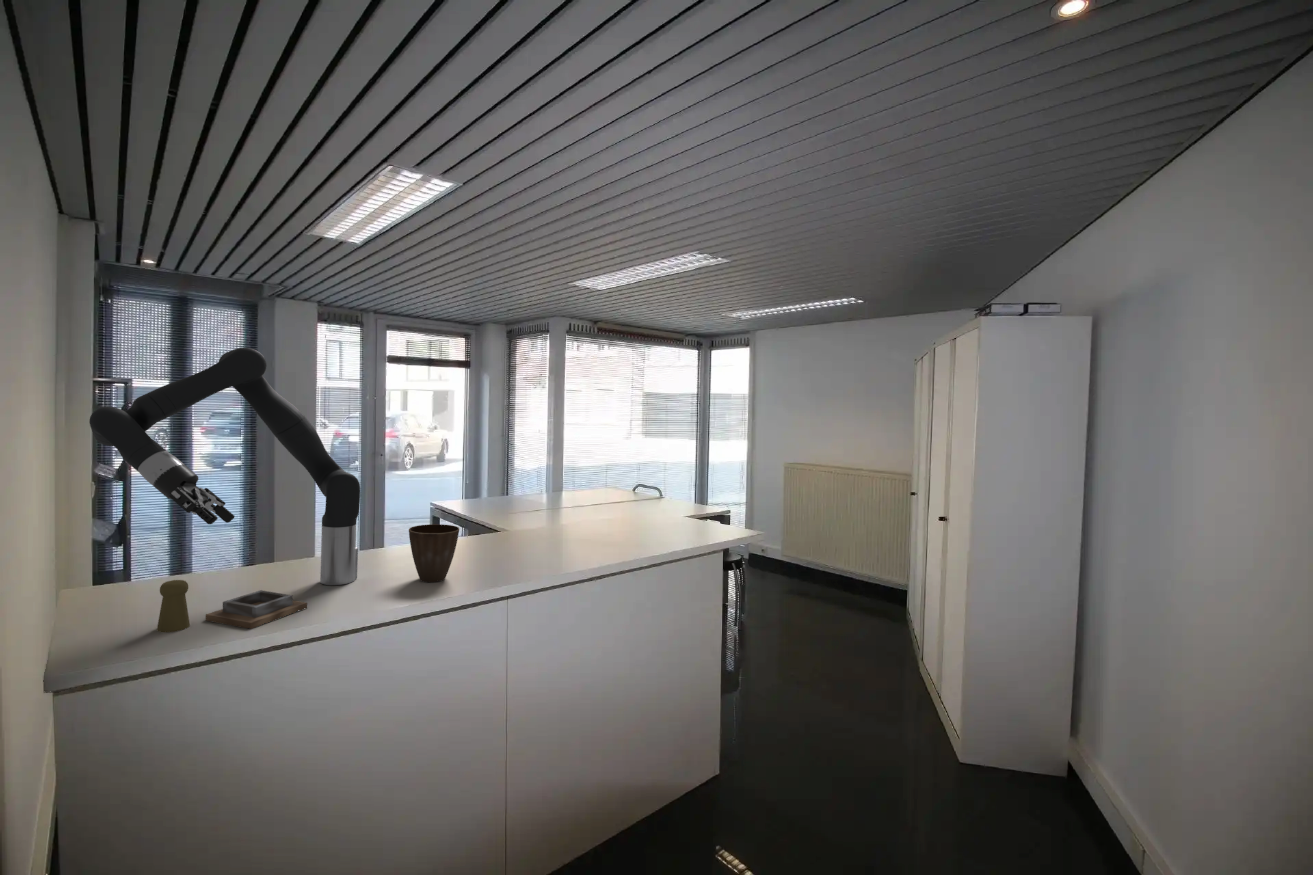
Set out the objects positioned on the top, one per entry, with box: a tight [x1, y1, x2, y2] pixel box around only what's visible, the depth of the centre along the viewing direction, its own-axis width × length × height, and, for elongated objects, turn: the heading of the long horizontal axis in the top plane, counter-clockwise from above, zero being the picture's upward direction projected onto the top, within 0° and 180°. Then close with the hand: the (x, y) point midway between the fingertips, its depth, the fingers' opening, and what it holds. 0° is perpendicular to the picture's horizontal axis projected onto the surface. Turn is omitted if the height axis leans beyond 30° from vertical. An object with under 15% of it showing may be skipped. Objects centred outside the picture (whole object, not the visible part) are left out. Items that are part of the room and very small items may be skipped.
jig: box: [205, 589, 308, 630], centre depth 151 cm, size 16×14×4 cm
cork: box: [156, 579, 191, 633], centre depth 140 cm, size 6×6×11 cm
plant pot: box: [408, 523, 460, 583], centre depth 189 cm, size 15×15×16 cm
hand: (223, 520), depth 144 cm, fingers open, 8 cm apart
